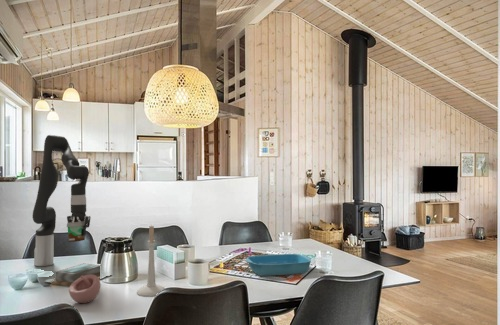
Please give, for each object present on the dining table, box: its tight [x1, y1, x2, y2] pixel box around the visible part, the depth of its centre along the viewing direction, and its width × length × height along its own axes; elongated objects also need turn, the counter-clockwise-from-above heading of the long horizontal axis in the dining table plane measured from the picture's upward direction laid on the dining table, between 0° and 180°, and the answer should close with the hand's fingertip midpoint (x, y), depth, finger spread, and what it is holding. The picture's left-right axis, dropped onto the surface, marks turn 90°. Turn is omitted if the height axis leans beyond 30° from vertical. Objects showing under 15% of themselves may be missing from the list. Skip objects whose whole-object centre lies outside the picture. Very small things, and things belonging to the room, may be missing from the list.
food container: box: [66, 221, 86, 243], centre depth 200 cm, size 12×6×10 cm, turn 169°
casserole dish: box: [245, 253, 312, 277], centre depth 206 cm, size 37×22×7 cm, turn 106°
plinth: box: [51, 262, 102, 287], centre depth 192 cm, size 22×22×5 cm
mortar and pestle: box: [68, 274, 101, 304], centre depth 158 cm, size 12×12×11 cm
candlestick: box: [136, 224, 166, 298], centre depth 172 cm, size 13×13×30 cm
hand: (78, 235), depth 200 cm, fingers closed on food container, 5 cm apart
